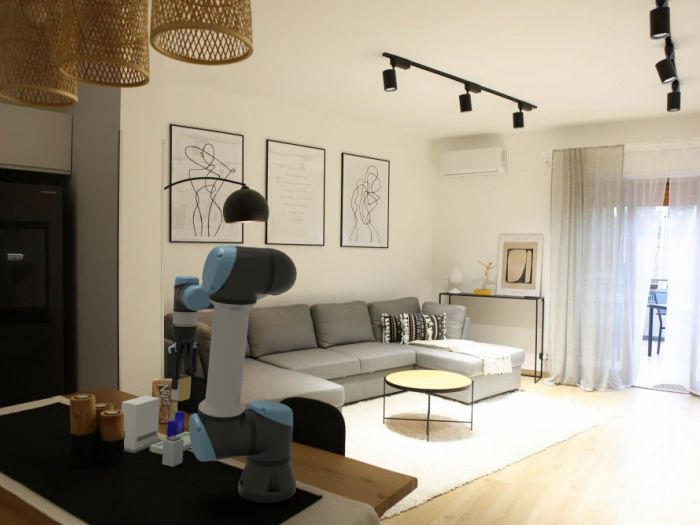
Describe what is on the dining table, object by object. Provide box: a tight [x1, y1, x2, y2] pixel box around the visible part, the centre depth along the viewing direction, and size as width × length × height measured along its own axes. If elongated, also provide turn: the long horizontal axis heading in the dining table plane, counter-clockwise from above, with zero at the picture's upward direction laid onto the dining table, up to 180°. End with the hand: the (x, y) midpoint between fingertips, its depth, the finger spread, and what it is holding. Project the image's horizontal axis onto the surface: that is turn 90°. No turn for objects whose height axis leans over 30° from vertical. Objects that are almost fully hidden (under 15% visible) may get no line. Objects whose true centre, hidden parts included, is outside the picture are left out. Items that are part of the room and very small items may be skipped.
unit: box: [121, 395, 163, 454], centre depth 177 cm, size 8×12×14 cm, turn 156°
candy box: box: [151, 378, 179, 424], centre depth 202 cm, size 9×4×15 cm, turn 103°
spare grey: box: [161, 435, 184, 468], centre depth 163 cm, size 4×4×8 cm
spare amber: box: [171, 373, 192, 402], centre depth 177 cm, size 4×4×8 cm
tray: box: [149, 431, 192, 455], centre depth 178 cm, size 9×17×2 cm, turn 156°
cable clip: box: [166, 411, 186, 439], centre depth 190 cm, size 12×4×6 cm, turn 5°
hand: (180, 397), depth 177 cm, fingers closed on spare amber, 4 cm apart
